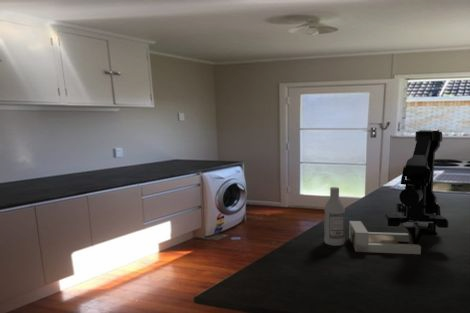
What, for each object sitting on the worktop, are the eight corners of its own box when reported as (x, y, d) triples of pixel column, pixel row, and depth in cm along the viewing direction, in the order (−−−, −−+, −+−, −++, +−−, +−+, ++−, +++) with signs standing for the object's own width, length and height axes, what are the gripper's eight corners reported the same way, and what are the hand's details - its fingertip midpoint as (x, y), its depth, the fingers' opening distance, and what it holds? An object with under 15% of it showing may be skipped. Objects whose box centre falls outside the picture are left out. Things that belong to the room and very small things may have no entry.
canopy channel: (406, 240, 125) (407, 222, 125) (420, 254, 111) (421, 234, 111) (349, 238, 129) (349, 220, 128) (355, 251, 115) (356, 232, 114)
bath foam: (348, 244, 122) (349, 188, 120) (333, 247, 119) (333, 190, 117) (335, 238, 128) (335, 185, 127) (320, 241, 125) (320, 187, 124)
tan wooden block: (391, 243, 123) (392, 235, 123) (398, 252, 115) (398, 243, 115) (353, 242, 125) (353, 234, 125) (357, 250, 117) (357, 241, 117)
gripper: (436, 195, 123) (435, 238, 125) (380, 195, 127) (380, 236, 128) (449, 203, 112) (448, 249, 114) (388, 202, 116) (387, 247, 117)
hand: (414, 245), depth 118 cm, fingers closed
